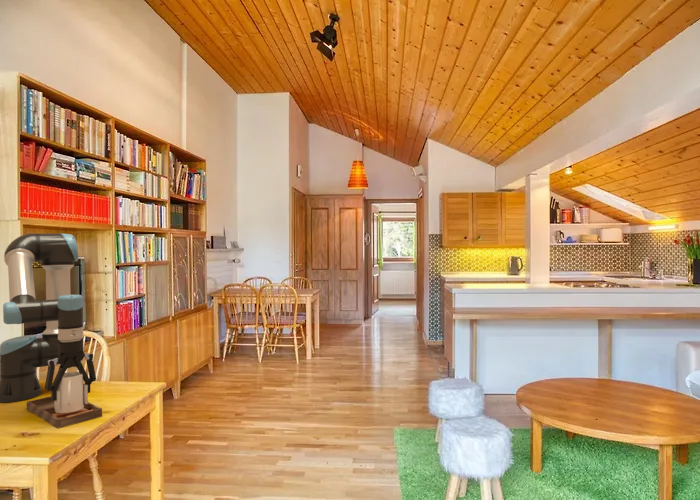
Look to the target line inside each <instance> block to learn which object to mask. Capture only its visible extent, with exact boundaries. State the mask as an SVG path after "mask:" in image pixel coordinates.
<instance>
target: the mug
mask: <svg viewBox="0 0 700 500" xmlns="http://www.w3.org/2000/svg"><path fill="white" fill-rule="evenodd" d="M83 384H84V380H83V374H80V373H79V371H68V372H67V371H66V372H65V373H64V375H63V378H62V380H61V382H60V385H59V387H58V389H57V390H59V391H60V410H59V411H57V410H55V412H56V413H71V412H75V411H79V410H81V409H83V408H84V404H83Z"/></svg>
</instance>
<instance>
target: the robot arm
mask: <svg viewBox="0 0 700 500" xmlns="http://www.w3.org/2000/svg"><path fill="white" fill-rule="evenodd" d="M3 256H4V257H3V258H4V259H3V261H4V262H5V265H6V266H7V272H8V292H9V293H8V294H9V295H8V296H9V297H8V298H9V301H8V302H4V304H3V306H2V308H3V311H2V312H3V315H2V316H3V317H2V318H3V320H2V321H3V323H4V324H5V325H21V324H22V325H23V324H31V323H42V322H46V328H45V329H44V330H43V332H42V333H41V337H37V336H36V335H35V334H29V335H27V334H26V335H21V336H16V337H12V338H9V339H6V340H4V341H2V342H1V344H0V403H12V402H21V401H26V400H30V399H33V398H36V397H38V396H40V395H42V385H41V383H40V380H39V378H38V376H37V368H42V367H43V368H44V367H47V372H46V379H45V383H44V390H45V391H47V392H50V396H51V399H52V401H54V406H55V410H57V411H59V410H60V391H59V390H57V389H58V387H59V385H60V382H61V380H62V378H63V375H64V373H66V372H67V370H68V369H70V368H71V369H72V368H73V367H74V368H76V369H77V372H79V373H80V374H83V403H84V404H88V401H89V398H88V396H89V395H88V394H89V393H91V385H92V384H93V382H96V381H97V376H96V375H97V374H96V371H95V366H94V354H93V353H90V352H88V353H85V352H84V340H83V338H84V306H85V305H84V300H83V299H84V298H83V295H81V294H71V269H72V268H73V267H74V266H75V263H76V262H78V261H79V247H78V243H77V240H76V238H75V236H74V235H73V234H71V233H70V234H69V233H34V232H31V233H26V234H22V235H19V236H18V237H16V238H15V239H14V240H12V241H11V242H10V243H9V244H8V245H7V247H6V248H5V251H4V255H3ZM34 263H40V264H41V265H40V266H41V268H43V270H45V298H46V299H43V300H41V299H40V300H36V299H37V298H36V291H35V289H36V288H35V280H34V279H35V278H34V269H33V268H34V267H33V264H34ZM83 360H86V361H85V362H86V367H87V370H88V373H87V372H86V370H85V367H84V365H83V363H82V361H83ZM57 365H59V367H58V370H57V373H56V375H55V369H56V367H55V366H57ZM54 375H55V377H54Z"/></svg>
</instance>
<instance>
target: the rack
mask: <svg viewBox="0 0 700 500" xmlns="http://www.w3.org/2000/svg"><path fill="white" fill-rule="evenodd" d="M83 404H84V403H83ZM26 410H28V411H30V412H31V413H32V414H34V415H35V416H37V417H39V418H40V419H42V420H44V421H45V422H47V423H49V424H50V425H52V426H54V428H56V429H60V428H64V427H68V426H72V425H75V424H79V423H82V422H86V421H87V422H88V421H90V420H93V419H97V418H101V417H103V408H102V407H99V406H97V405H95V404H93V403H91V402H88V404H84V408H83V409H81V410H79V411H75V412H71V413H56V412H55V406H54V401H52V399H51V395H50V396H46V397H42V398H37V399H33V400H29V401H26Z"/></svg>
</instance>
